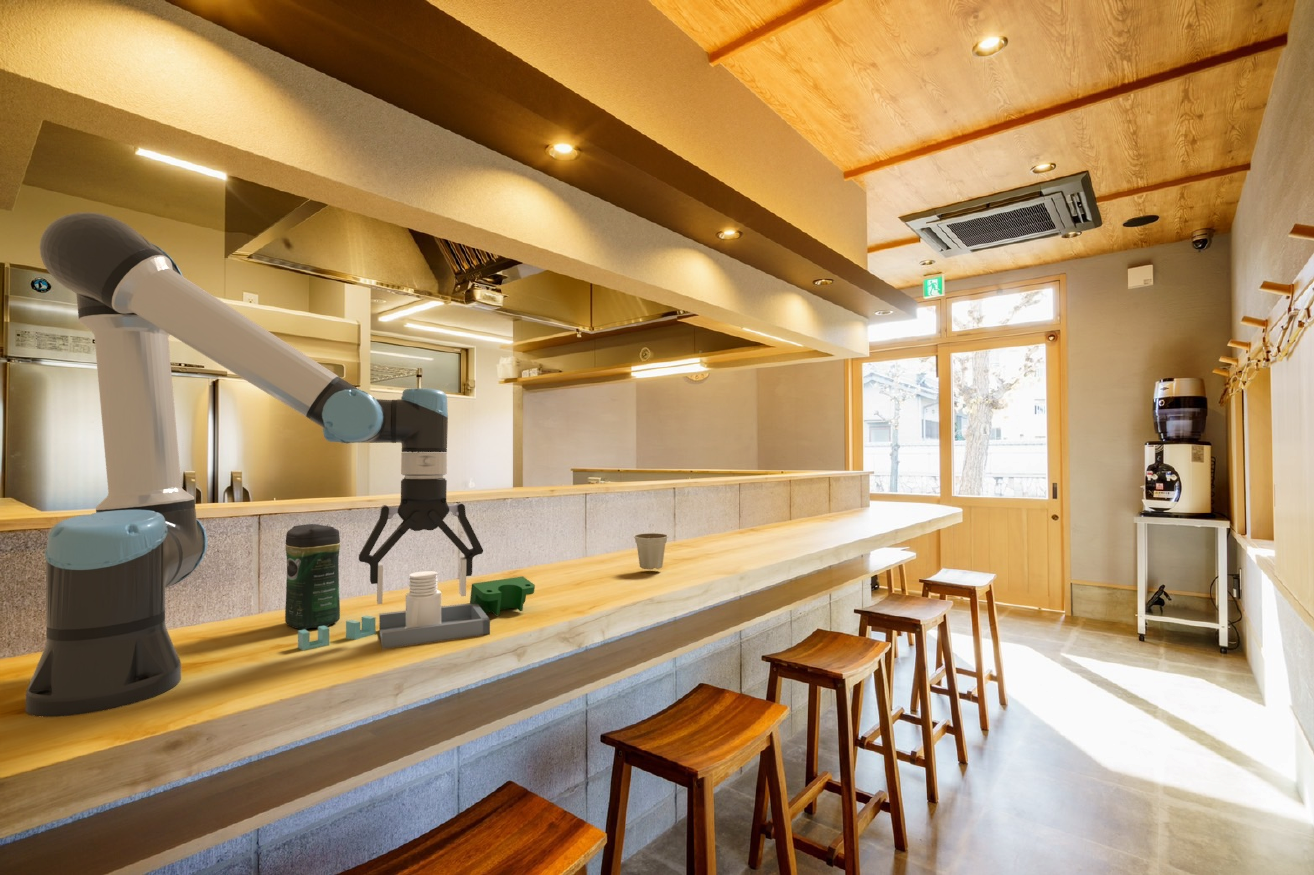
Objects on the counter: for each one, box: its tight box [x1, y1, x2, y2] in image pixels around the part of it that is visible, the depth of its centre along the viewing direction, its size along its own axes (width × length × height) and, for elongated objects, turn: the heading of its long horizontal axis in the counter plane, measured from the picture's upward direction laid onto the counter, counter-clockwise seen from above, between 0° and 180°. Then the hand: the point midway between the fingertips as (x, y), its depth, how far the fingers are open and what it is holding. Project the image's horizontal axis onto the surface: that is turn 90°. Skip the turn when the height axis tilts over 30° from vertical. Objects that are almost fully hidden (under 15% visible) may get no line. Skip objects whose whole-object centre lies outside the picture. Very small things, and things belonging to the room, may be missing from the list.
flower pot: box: [633, 532, 669, 570], centre depth 165 cm, size 9×9×9 cm
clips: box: [297, 615, 377, 651], centre depth 103 cm, size 12×3×3 cm, turn 141°
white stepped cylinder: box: [405, 570, 442, 628], centre depth 107 cm, size 8×7×10 cm
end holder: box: [378, 602, 491, 650], centre depth 108 cm, size 17×13×3 cm
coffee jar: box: [284, 523, 341, 630], centre depth 114 cm, size 10×8×19 cm
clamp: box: [469, 576, 536, 616], centre depth 121 cm, size 12×6×9 cm, turn 127°
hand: (422, 598), depth 107 cm, fingers open, 13 cm apart
